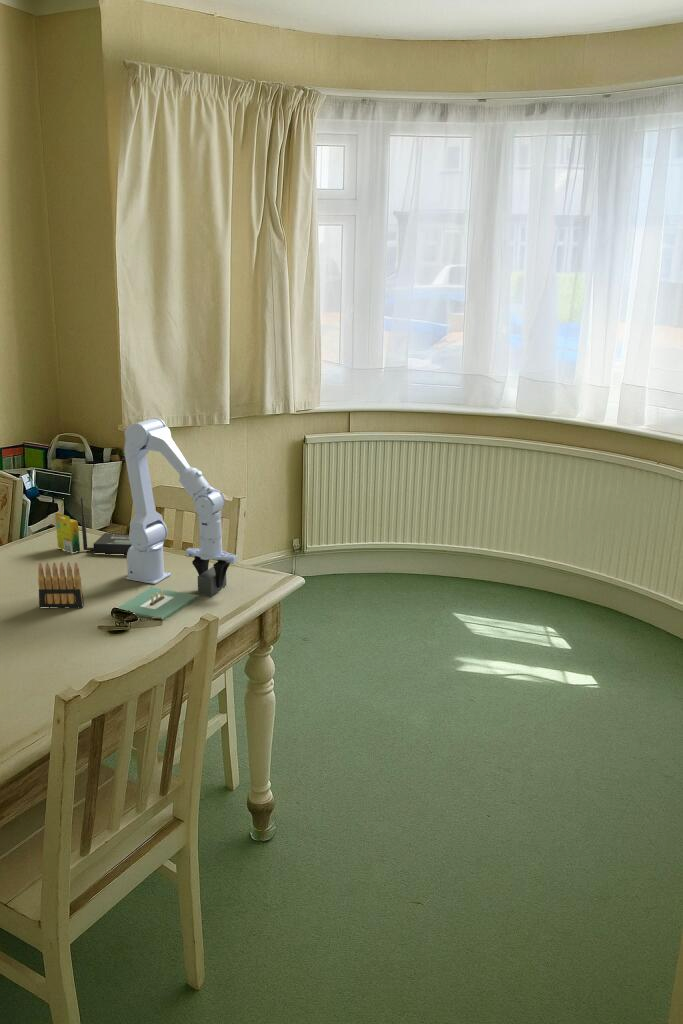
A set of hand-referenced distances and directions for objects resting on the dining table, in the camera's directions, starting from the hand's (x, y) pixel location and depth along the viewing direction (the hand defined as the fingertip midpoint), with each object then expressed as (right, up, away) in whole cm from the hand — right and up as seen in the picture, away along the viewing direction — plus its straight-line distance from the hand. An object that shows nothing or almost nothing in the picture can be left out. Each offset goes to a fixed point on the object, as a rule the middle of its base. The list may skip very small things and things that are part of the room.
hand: (212, 585), depth 226 cm
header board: (-13, -4, -9) cm, 16 cm away
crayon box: (-47, +8, +29) cm, 56 cm away
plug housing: (0, -1, 0) cm, 1 cm away
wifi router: (-33, +8, +31) cm, 45 cm away
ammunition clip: (-36, -5, -12) cm, 38 cm away
